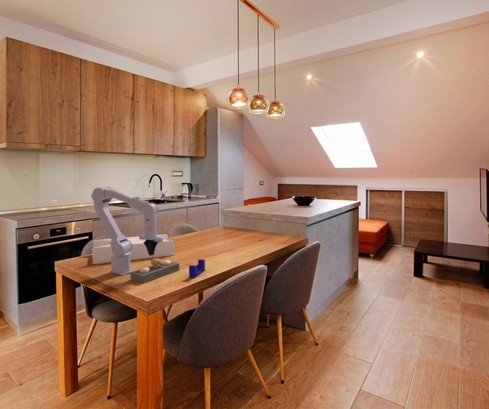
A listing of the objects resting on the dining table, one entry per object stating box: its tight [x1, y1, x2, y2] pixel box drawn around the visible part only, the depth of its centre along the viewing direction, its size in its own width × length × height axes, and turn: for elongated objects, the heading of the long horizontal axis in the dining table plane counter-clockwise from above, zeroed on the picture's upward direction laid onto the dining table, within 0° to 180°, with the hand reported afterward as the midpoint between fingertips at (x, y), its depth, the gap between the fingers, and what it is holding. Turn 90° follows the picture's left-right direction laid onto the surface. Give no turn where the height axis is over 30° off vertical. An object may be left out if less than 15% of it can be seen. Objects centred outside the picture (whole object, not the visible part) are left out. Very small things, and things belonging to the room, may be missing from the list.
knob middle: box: [150, 257, 161, 270], centre depth 155 cm, size 4×4×5 cm
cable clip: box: [188, 258, 206, 279], centre depth 156 cm, size 12×4×6 cm, turn 164°
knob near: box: [139, 266, 149, 274], centre depth 149 cm, size 4×4×5 cm
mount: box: [129, 261, 180, 284], centre depth 155 cm, size 9×23×4 cm, turn 148°
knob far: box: [161, 259, 172, 266], centre depth 161 cm, size 4×4×5 cm
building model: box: [91, 233, 176, 265], centre depth 192 cm, size 45×22×10 cm, turn 114°
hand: (151, 255), depth 156 cm, fingers closed
